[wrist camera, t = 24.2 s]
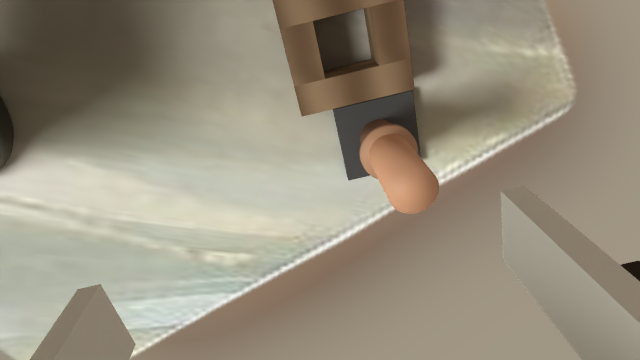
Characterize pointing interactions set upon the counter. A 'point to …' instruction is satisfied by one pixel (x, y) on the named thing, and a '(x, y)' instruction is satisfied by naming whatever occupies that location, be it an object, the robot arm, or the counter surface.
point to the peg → (397, 166)
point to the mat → (362, 113)
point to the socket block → (352, 80)
